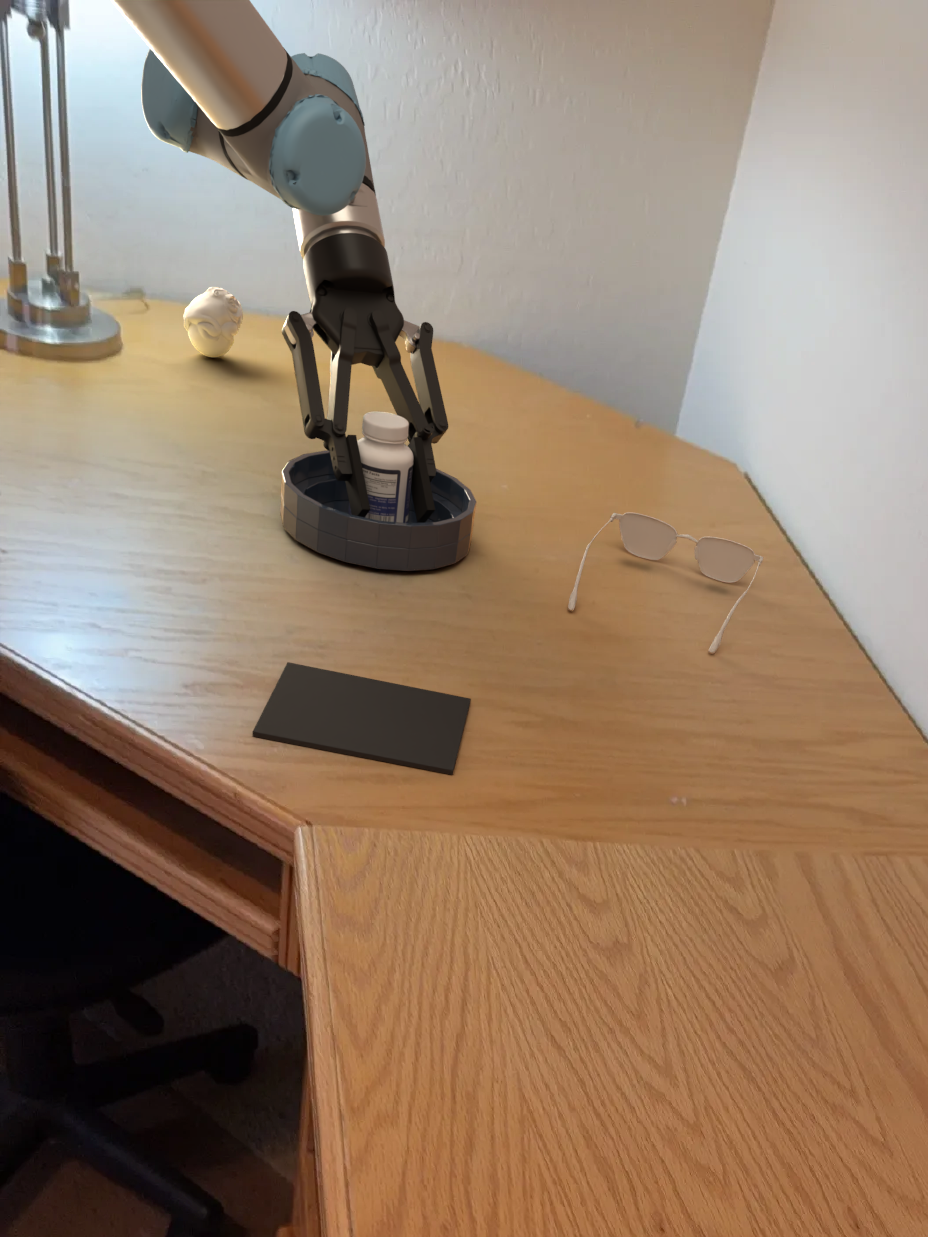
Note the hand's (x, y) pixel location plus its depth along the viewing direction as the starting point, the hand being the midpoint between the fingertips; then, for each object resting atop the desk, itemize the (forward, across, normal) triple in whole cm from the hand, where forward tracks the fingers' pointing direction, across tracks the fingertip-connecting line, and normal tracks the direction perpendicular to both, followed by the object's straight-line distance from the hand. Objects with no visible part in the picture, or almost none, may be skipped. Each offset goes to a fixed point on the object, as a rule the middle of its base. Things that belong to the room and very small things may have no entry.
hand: (394, 515), depth 114 cm
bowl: (0, 0, +5) cm, 5 cm away
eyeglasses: (+10, +23, -5) cm, 26 cm away
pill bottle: (0, 0, +5) cm, 5 cm away
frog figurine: (-35, -2, +40) cm, 53 cm away
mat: (+22, -13, -18) cm, 31 cm away
